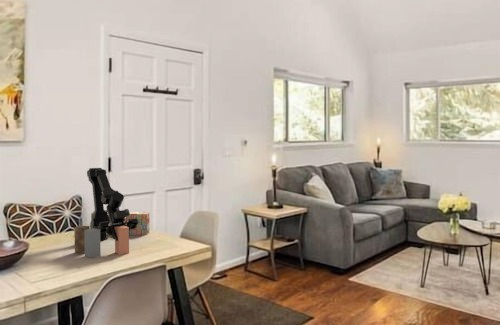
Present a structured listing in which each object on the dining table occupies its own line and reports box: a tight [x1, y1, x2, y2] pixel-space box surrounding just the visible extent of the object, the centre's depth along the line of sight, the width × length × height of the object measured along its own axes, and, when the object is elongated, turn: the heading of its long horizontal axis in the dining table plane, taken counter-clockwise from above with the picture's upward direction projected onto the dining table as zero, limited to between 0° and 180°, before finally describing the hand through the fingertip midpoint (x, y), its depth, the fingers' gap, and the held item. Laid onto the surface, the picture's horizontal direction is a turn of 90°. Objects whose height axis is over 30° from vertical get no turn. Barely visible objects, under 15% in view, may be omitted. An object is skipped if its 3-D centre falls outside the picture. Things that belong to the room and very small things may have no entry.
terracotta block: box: [114, 226, 130, 256], centre depth 209 cm, size 5×5×12 cm
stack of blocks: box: [110, 211, 150, 236], centre depth 252 cm, size 21×6×12 cm, turn 90°
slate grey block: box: [84, 228, 102, 259], centre depth 203 cm, size 5×5×12 cm
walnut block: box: [74, 225, 90, 255], centre depth 210 cm, size 5×5×12 cm
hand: (123, 239), depth 208 cm, fingers closed on terracotta block, 5 cm apart
